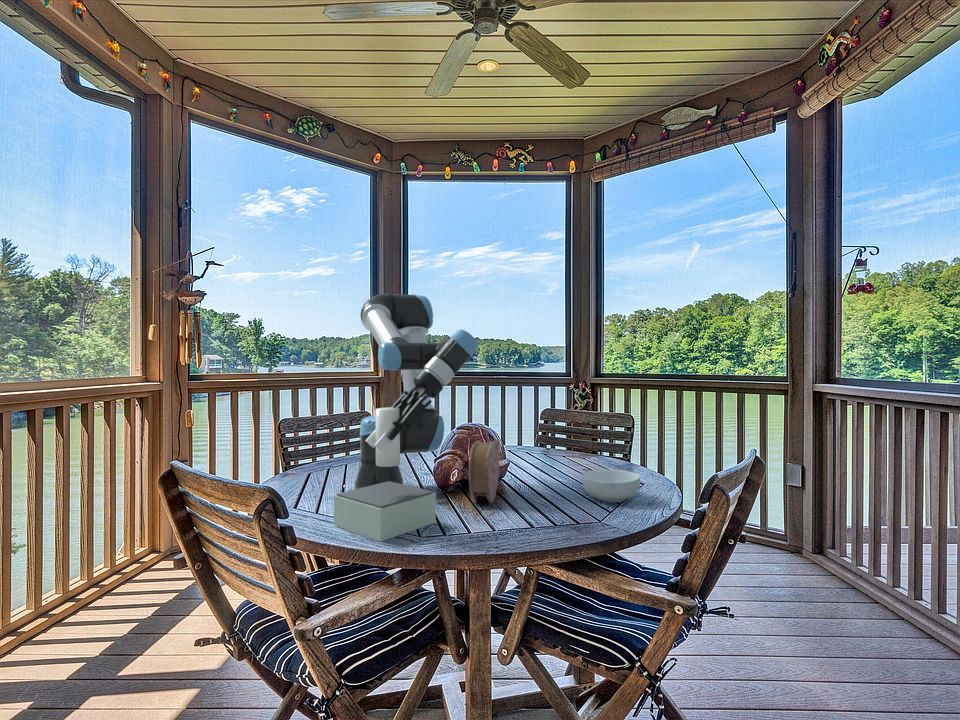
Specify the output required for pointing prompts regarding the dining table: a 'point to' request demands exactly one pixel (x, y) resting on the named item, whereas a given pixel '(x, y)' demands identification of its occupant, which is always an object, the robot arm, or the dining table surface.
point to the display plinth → (384, 510)
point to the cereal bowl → (611, 484)
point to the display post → (382, 425)
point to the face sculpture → (484, 470)
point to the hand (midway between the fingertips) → (374, 446)
